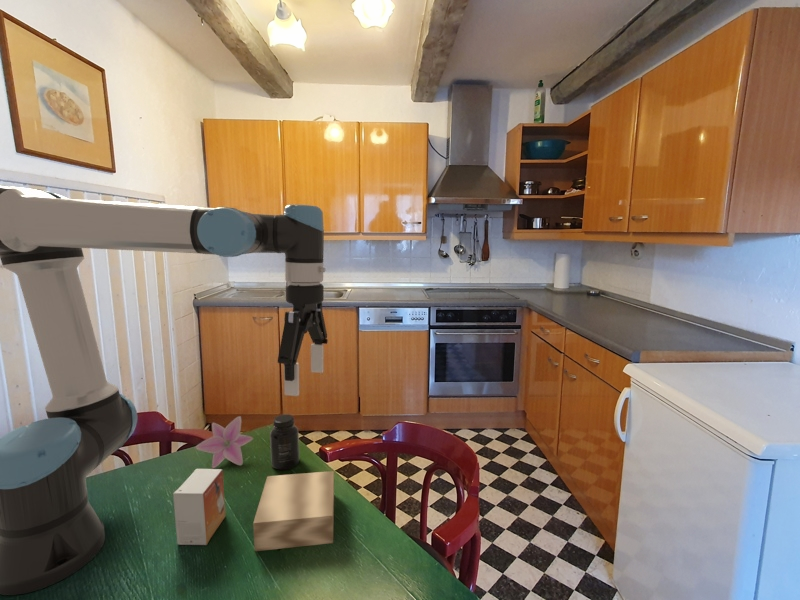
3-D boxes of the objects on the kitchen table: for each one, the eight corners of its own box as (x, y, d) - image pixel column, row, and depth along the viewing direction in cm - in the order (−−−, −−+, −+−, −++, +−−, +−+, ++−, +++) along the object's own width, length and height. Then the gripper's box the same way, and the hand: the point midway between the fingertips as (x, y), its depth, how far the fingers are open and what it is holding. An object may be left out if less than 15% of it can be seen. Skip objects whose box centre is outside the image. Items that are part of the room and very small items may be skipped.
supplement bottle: (304, 458, 100) (303, 414, 98) (290, 473, 94) (288, 426, 92) (281, 453, 102) (279, 410, 100) (265, 468, 96) (263, 422, 94)
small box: (206, 546, 71) (202, 494, 70) (176, 545, 71) (171, 493, 70) (226, 515, 79) (223, 468, 78) (199, 515, 79) (195, 467, 78)
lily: (191, 467, 97) (189, 445, 92) (218, 430, 107) (218, 408, 102) (235, 483, 97) (236, 462, 92) (259, 444, 107) (261, 423, 101)
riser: (254, 552, 70) (253, 523, 69) (268, 501, 84) (267, 476, 83) (333, 544, 73) (332, 515, 72) (334, 495, 86) (333, 471, 85)
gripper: (296, 291, 66) (298, 408, 70) (341, 278, 91) (340, 365, 94) (255, 289, 68) (259, 405, 71) (310, 276, 92) (311, 363, 95)
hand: (305, 382), depth 82 cm, fingers open, 13 cm apart
